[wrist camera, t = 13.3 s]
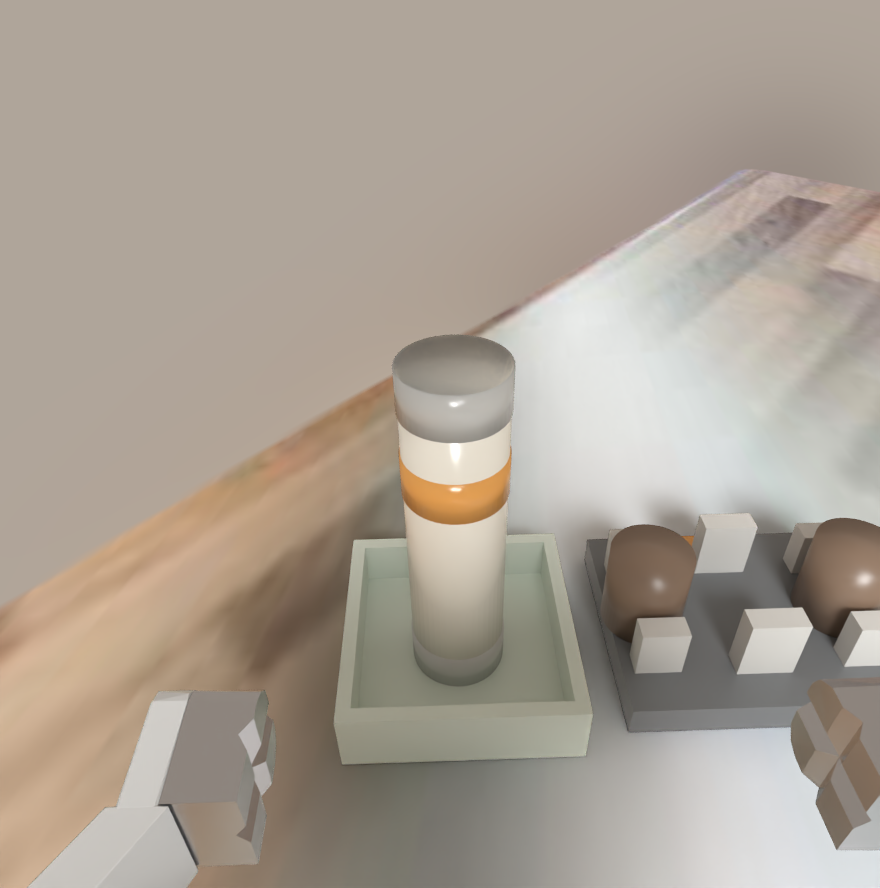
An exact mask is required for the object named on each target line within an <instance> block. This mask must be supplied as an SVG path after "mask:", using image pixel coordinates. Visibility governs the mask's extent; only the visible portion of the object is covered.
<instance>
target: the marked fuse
mask: <svg viewBox="0 0 880 888" xmlns="http://www.w3.org/2000/svg"><path fill="white" fill-rule="evenodd" d="M392 370H393V385H394V398H395V411H396V417H397V420H398V432H399V445H400V447H399V464H400V477H401V491H402V497H403V500H404V513H405V527H406V540H407V554H408V567H409V581H410V594H411V608H412V636H413V650H414V657H415V660H416V663H417V665H418V666H419V668H420V669H421V670H422V672H423V673H424V674H425V675H426V676H428V677H429V678H431V679H432V680H434V681H436V682H438V683H441V684H444V685H448V686H468V685H472V684H475V683H478V682H480V681H482V680H484V679H486V678H487V677H489V676H490V675H491V674H492V673H493V672H494V671H495V670H496V668H497V667H498V665H499V663H500V661H501V658H502V653H503V633H504V620H503V606H504V583H505V560H506V537H507V513H508V497H509V493H510V475H511V445H510V443H511V420H512V416H513V407H514V385H515V360H514V357H513V356H512V354H511V353H510V352H509V351H508V350H507V349H506V348H505V347H503V346H502V345H500V344H498V343H496V342H494V341H491V340H488V339H485V338H481V337H476V336H470V335H442V336H434V337H429V338H426V339H422V340H419V341H417V342H414V343H412V344H410V345H408V346H406V347H405V348H403V349H402V350H401V351H400V352H399V353H398V354H397V355H396V356H395V358H394V360H393V364H392Z"/></svg>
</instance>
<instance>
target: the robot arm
mask: <svg viewBox="0 0 880 888" xmlns="http://www.w3.org/2000/svg"><path fill="white" fill-rule="evenodd" d="M807 694H808V696H809V698H810V700H811V702H809V703H808V704H806V705H804V706H803V707H801V708H799V709H798V710H797V711H796V713H795V715H794V718H793V720H792V722H791V743H792V747H793V751H794V755H795V757H796V760H797V762H798V765H799V767H800V769H801V772H802V773H803V774H804V775H805V776H806V777H807V778H809V779H810V780H811V781H812V782H813V783H814V784H816V785H817V786H818V787H819V790H818V794H817V799H816V805H817V808H818V810H819V812H820V814H821V816H822V819H823V821H824V823H825V825H826V828H827V830H828V832H829V834H830V836H831V839H832V841H833V843H834V845H835V848H836V850H880V677H870V678H843V679H820V680H818V681H815V682H813V683H812V685H811V686H810V688H809V690H808V691H807ZM268 704H269V702H268V698H267V695H266V692H265V690H224V691H196V690H185V691H159V692H158V693H157V695H156V696H155V698H154V699H153V701H152V702H151V704H150V707H149V710H148V713H147V716H146V719H145V722H144V725H143V728H142V731H141V734H140V737H139V740H138V743H137V746H136V749H135V751H134V754H133V757H132V760H131V763H130V766H129V769H128V772H127V775H126V778H125V781H124V784H123V787H122V790H121V793H120V796H119V799H118V802H117V805H116V807H105V808H104V809H103V810H102V811H101V812H100V813H99V814H98V815H97V816H96V817H95V818H94V819H93V820H92V821H91V822H90V823H89V824H88V825H87V826H86V827H85V828H84V829H83V830H82V832H81V833H80V834H79V835H78V836H77V837H76V838H75V839H74V840H73V841H72V842H71V843H70V844H69V845H68V846H67V847H66V848H65V849H64V850H63V851H62V852H61V853H60V854H59V855H58V856H57V857H56V858H55V859H54V860H53V861H52V862H51V863H50V864H49V865H48V866H47V867H46V869H45V870H44V871H43V872H42V873H41V874H40V875H39V876H38V877H37V878H36V879H35V880H34V881H33V882H32V883H31V884H30V885H29V886H28V887H27V888H187V886H188V885H189V884H190V882H191V881H192V879H193V878H194V877H195V875H196V874H197V872H198V869H197V867H210V866H229V865H248V864H258V863H259V857H260V851H261V845H262V839H263V834H264V828H265V822H266V816H267V815H266V811H265V808H264V804H263V801H262V797H261V796H262V795H263V794H264V793H265V791H266V790H267V789H268V788H269V787H270V786H271V784H272V780H273V773H274V767H275V754H276V734H275V726H274V722H273V719H271V718H270V717H268V716H267V710H268Z"/></svg>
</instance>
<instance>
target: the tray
mask: <svg viewBox="0 0 880 888" xmlns="http://www.w3.org/2000/svg"><path fill="white" fill-rule="evenodd" d="M503 620H504V633H503V653H502V658H501V661H500V663H499V665H498V667H497V668H496V670H495V671H494V672H493V673H492V674H491V675H490V676H489V677H487V678H486V679H484V680H482V681H480V682H478V683H475V684H472V685H468V686H448V685H444V684H441V683H438V682H436V681H434V680H432V679H431V678H429V677H428V676H426V675H425V674H424V673H423V672H422V670H421V669H420V668H419V666H418V665H417V663H416V660H415V657H414V650H413V636H412V608H411V594H410V581H409V567H408V554H407V540H406V538H398V539H367V540H354V542H353V551H352V560H351V569H350V578H349V587H348V596H347V605H346V614H345V623H344V633H343V642H342V651H341V660H340V669H339V678H338V687H337V696H336V705H335V714H334V728H335V733H336V738H337V743H338V748H339V753H340V758H341V762H342V765H344V764H374V763H404V762H434V761H464V760H494V759H524V758H554V757H584V756H586V752H587V747H588V741H589V736H590V730H591V725H592V719H593V710H592V706H591V701H590V697H589V692H588V687H587V683H586V678H585V674H584V669H583V664H582V660H581V655H580V651H579V646H578V641H577V637H576V632H575V628H574V623H573V618H572V614H571V609H570V605H569V600H568V595H567V591H566V586H565V582H564V577H563V572H562V568H561V563H560V559H559V554H558V549H557V545H556V540H555V536H554V533H550V534H520V535H507V537H506V560H505V583H504V606H503Z"/></svg>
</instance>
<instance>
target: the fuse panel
mask: <svg viewBox="0 0 880 888" xmlns="http://www.w3.org/2000/svg"><path fill="white" fill-rule="evenodd" d="M820 524H822V523H797V524H796V525H795V527H794V530H793V533H776V534H756V531H757V528H758V527H757V525H756V523H755V522H754V520H753V518H752V516H751V514H750V513H736V514H705V515H700V516H699V520H698V523H697V527H696V531H695V535H694V536H682V537H683V538H684V539H685V540H687V542H688V543H689V544H690V545H691V546H692V548H693V550H694V551H695V554H696V559H697V562H696V567H695V571H694V575H693V578H692V582H691V586H690V589H689V593H688V597H687V600H686V604H685V608H684V611H683V615H682V617H667V618H637V622H636V627H635V631H634V636H633V640H632V643H629V642H627V641H625V640H623V639H621V638H619V637H618V636H616V635H615V634H614V633H612V632H611V631H610V630H609V629H608V628H607V626H606V625H605V623H604V621H603V619H602V616H601V612H600V607H601V601H602V595H603V589H604V583H605V577H606V571H607V565H608V559H609V553H610V547H611V542H612V540H613V538H614V536H615V535H616V534H617V533H618V532H620V531H621V530H623V529H614V530H610V531H609V537H608V539H593V540H587V545H586V553H585V564H586V568H587V572H588V576H589V579H590V583H591V587H592V591H593V595H594V599H595V603H596V607H597V611H598V615H599V618H600V622H601V626H602V630H603V634H604V638H605V642H606V646H607V650H608V654H609V658H610V661H611V665H612V669H613V673H614V677H615V681H616V685H617V689H618V693H619V697H620V700H621V704H622V708H623V712H624V716H625V720H626V724H627V728H628V732H652V731H682V730H712V729H742V728H772V727H791V722H792V720H793V718H794V715H795V713H796V711H797V710H798V709H799V708H801V707H803V706H804V705H806V704H808V703H809V702H811V700H810V698H809V696H808V694H807V691H808V690H809V688H810V686H811V685H812V683H813V682H815V681H818V680H820V679H843V678H870V677H880V610H879V611H851V612H850V614H849V616H848V618H847V620H846V622H845V624H844V627H843V629H842V631H841V633H840V635H839V637H838V638H836V637H832V636H829V635H826V634H824V633H821V632H819V631H817V630H816V629H814V628H813V626H812V624H811V622H810V620H809V618H808V617H807V615H806V613H805V611H804V609H803V608H802V607H801V608H793V606H792V603H791V592H792V590H793V587H794V585H795V582H796V580H797V577H798V575H799V572H800V570H801V567H802V565H803V562H804V560H805V557H806V555H807V552H808V550H809V547H810V545H811V542H812V540H813V537H814V535H815V532H816V530H817V528H818V527H819V526H820Z"/></svg>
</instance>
